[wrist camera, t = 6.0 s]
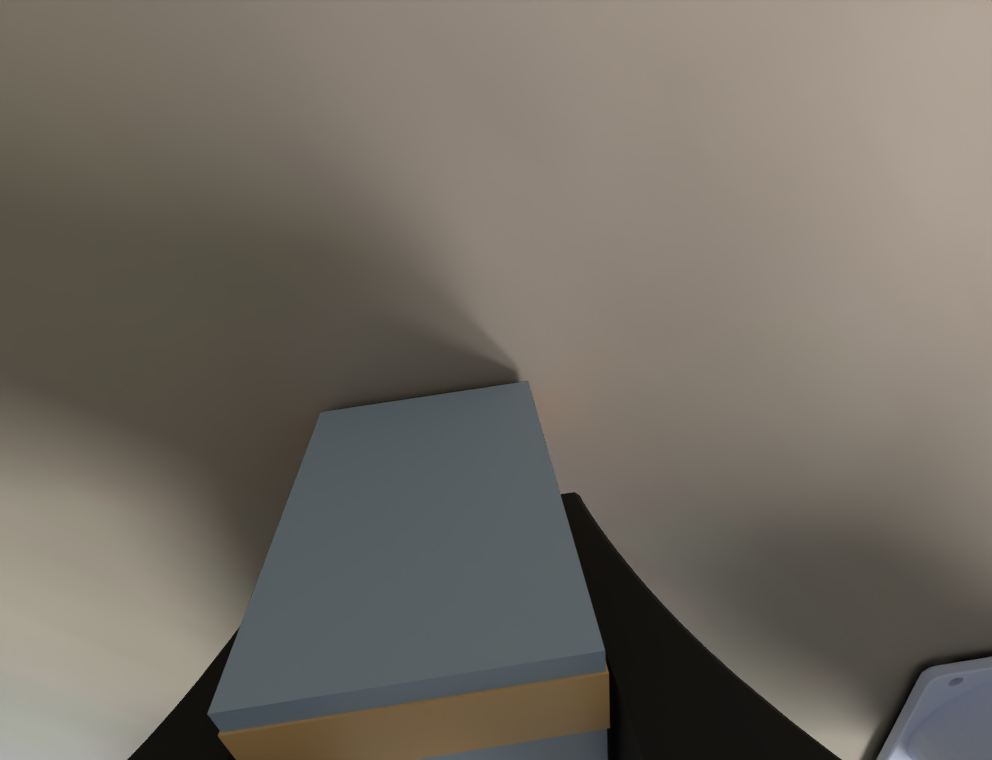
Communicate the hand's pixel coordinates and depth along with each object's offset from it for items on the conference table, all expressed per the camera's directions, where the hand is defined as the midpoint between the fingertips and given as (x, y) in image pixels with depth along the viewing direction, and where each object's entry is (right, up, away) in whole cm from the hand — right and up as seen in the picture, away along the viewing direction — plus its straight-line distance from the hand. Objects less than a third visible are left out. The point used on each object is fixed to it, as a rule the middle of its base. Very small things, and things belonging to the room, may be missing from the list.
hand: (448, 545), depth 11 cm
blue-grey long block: (0, -3, +3) cm, 4 cm away
